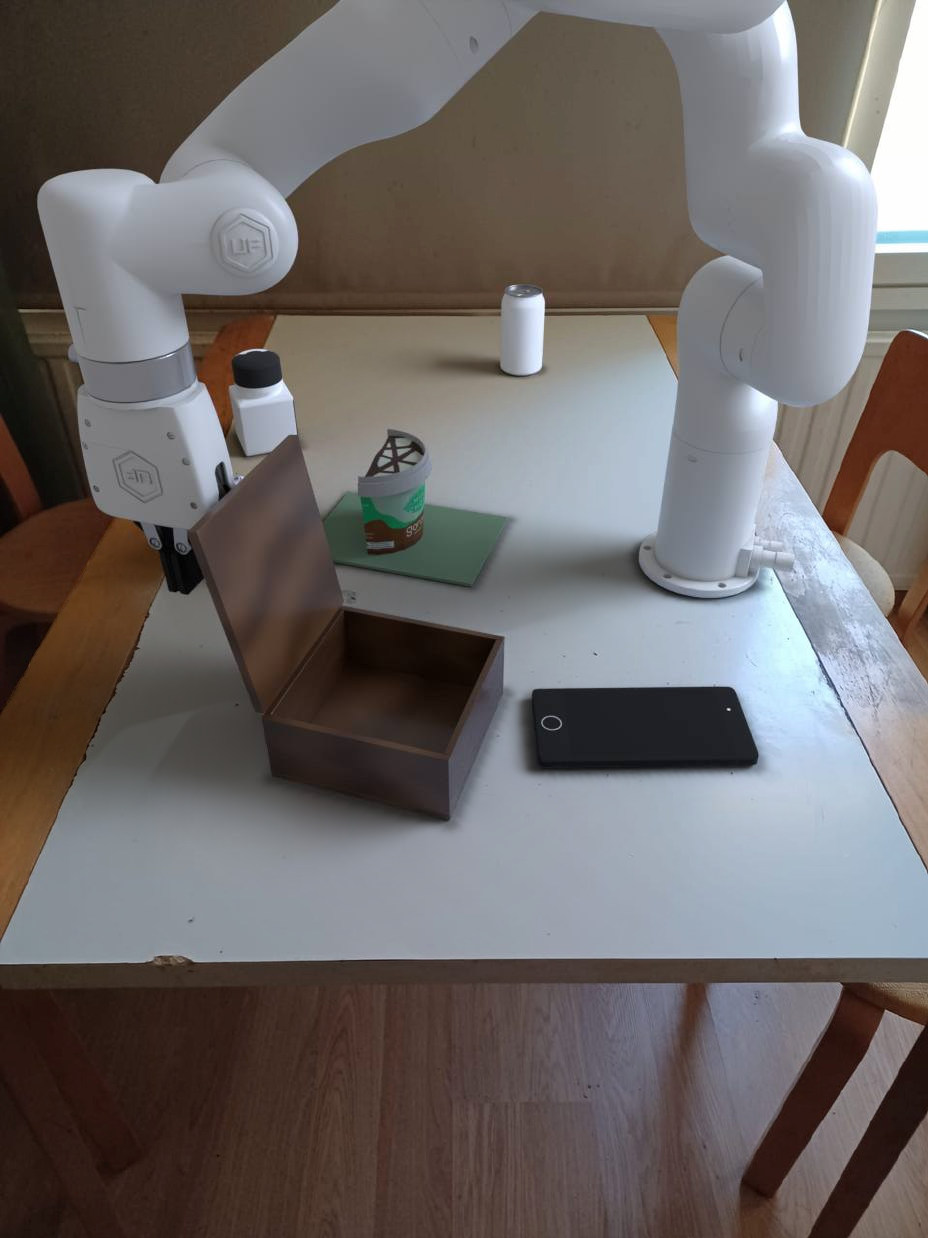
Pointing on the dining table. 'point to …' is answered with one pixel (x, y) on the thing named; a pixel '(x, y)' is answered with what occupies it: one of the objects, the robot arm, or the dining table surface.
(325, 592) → the lid
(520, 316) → the can
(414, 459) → the food container
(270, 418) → the medicine bottle
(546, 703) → the cell phone
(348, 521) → the mat
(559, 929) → the dining table surface
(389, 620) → the chest
